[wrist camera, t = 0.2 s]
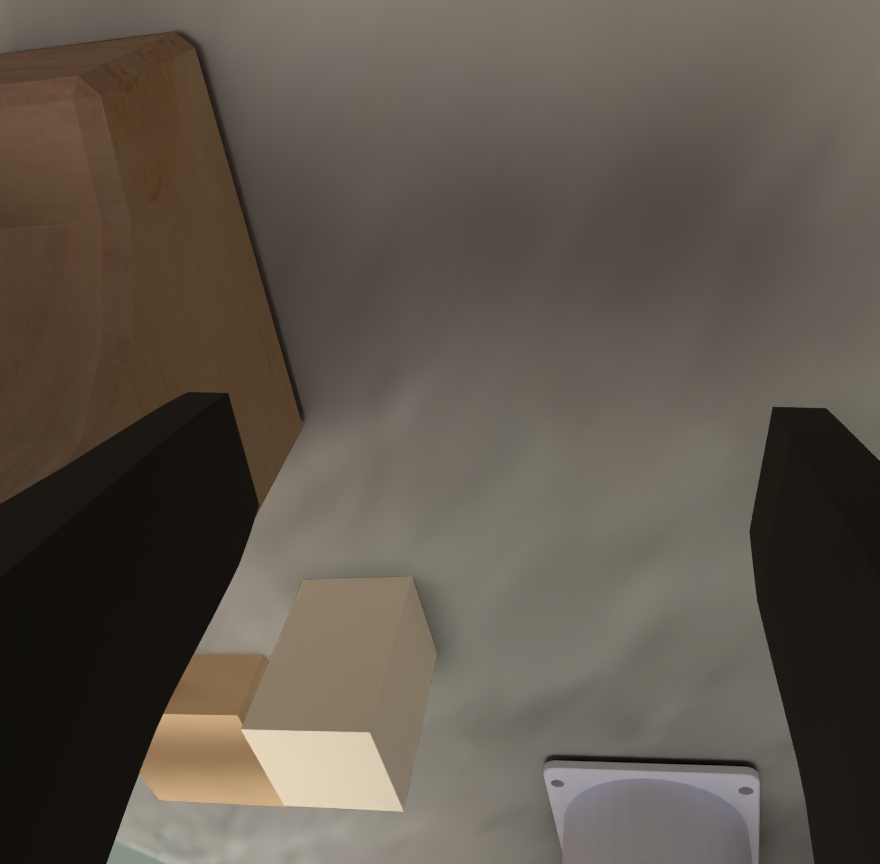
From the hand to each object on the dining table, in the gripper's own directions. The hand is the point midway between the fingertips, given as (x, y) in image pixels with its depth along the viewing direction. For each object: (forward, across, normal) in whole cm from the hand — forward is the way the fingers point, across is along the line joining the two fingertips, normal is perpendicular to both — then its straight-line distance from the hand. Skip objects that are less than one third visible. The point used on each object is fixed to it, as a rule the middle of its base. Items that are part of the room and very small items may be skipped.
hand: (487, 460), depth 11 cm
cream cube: (+10, +6, +15) cm, 19 cm away
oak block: (+10, +13, +21) cm, 27 cm away
